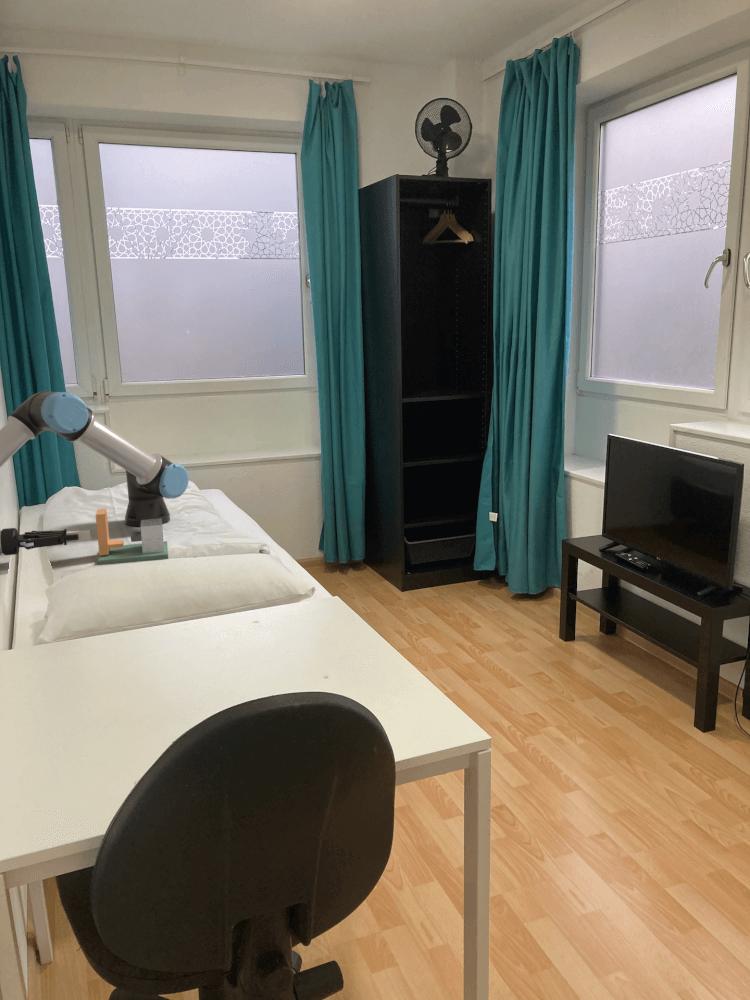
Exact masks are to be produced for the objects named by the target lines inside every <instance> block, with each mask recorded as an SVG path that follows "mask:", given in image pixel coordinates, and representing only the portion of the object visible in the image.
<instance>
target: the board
mask: <svg viewBox="0 0 750 1000" xmlns="http://www.w3.org/2000/svg"><path fill="white" fill-rule="evenodd" d="M165 559H167V560H168V559H169V551H168V541H164V552H160V553H148V554H143V551H142V542H141V543H132V544H130V543H129V544H123V547H116V548H110V551H109V555H101V556H100V555H99V556H98V559H97V560H98V565H99V566H100V565H108V564H109V565H110V564H120V563H122V564H123V563H130V562H131V563H132V562H143V561H152V560H153V561H155V560H165Z"/></svg>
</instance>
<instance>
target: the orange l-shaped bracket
mask: <svg viewBox="0 0 750 1000" xmlns="http://www.w3.org/2000/svg"><path fill="white" fill-rule="evenodd" d="M95 523H96V534H97V541H98V542H97V544H98V552H99V553H98V554H99V556H101V555H109V551H110V548H116V547H123V545H124V544H125V543H124V539H114V540H110V530H109V522H108V510H107V508H97V510H96V512H95Z"/></svg>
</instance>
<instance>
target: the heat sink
mask: <svg viewBox="0 0 750 1000" xmlns="http://www.w3.org/2000/svg"><path fill="white" fill-rule="evenodd" d="M130 541H131V543H132V542H141V543H142V551H143V554H148V553H160V552H164V542H165V541H164V532H163V524H162V518H161V519H148V520H141V526H140V530H139V531H131V532H130Z"/></svg>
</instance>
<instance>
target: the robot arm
mask: <svg viewBox="0 0 750 1000" xmlns="http://www.w3.org/2000/svg"><path fill="white" fill-rule="evenodd" d="M45 431H50V432H52V433H55V434H56V435H58V436H60V437H61V438H63V439H65V440H67V441H68V442H71V443H74V442H77V441H78V442H79V443H81V444H83V445H84V446H86V447H88V448H89V449H91V450H92V451H94V452H96V453H97V454H99V455H100V456H102V457H104V458H105V459H106V460H107V459H108V461H110V462H112V463H113V464H115V465H117V466H118V467H120V468H121V469H123V470H125V474H126V486H127V497H128V503H127V508H126V511H125V515H124V522H125V523H126V524H127V526H130V525H131V527H141V520H148V519H161V518H162V525H163V524H166V523H169V522H170V521H171V516H170V512H169V509H168V507H167V505H166V502H165V499H176V498H179V497H181V496H182V495H183V494H184V493H185V492H186V490H187V489H188V486H189V482H190V481H189V473H188V470H187V469H186V468H185V467H184V466H183V465H182V464H180V463H177V462H172V461H170V460H168V459H167V458H165V457H164V456H162V455H160V454H159V453H152V454H151V453H149V452H148V451H146V450H144V449H143V448H141V447H140V446H139V445H138V444H135V443H134V442H132V441H131V440H129V439H128V438H127V437H125V436H123V435H121V433H119V432H117V431H116V430H114V429H113V428H110V427H109V426H108V425H107V424H105V423H103V422H101V421H100V420H98V419H97V418H95V416H94V410H92V409H91V408H89V407H88V406H87V405H86V403H85V402H84V400H83V399H82V398H80V397H79V396H77V395H75V394H74V393H70V392H67V391H66V392H64V391H39V392H37V393H34V394H32V395H31V396H29V397H28V398H27V399H26V400H24V402H22V403H21V404H20V405H19V406H18V407H17V408H15V410H14V411H13V412H12V413H11V414H10V415H9V416H8V417H7V422H6V424H5V425H4V426H3V427H2V428H1V429H0V468H2V467H3V465H5V463H7V461H8V460H9V459H11V457H12V456H14V455H15V454H16V452H18V451H19V450H20V449H21V448H22V447H23V446H24V444H26V443H27V442H28V441H29V440H35V439H36V438H37V437H38V436H39V435H41V433H43V432H45ZM164 498H165V499H164ZM125 523H124V524H125ZM126 524H125V525H126ZM83 541H85V542H86V541H92V531H91V529H86V530H75V531H73V530H72V531H67V528H65V529H62V530H32V531H26V532H24V533H23V534H19V531H18V528H16V527H9V528H2V529H0V557H1V556H2V555H4V556H13V555H14V556H15V555H18V554H19V552H20V548H24V549H26V550H32V549H37V548H43V547H44V548H45V547H52V546H60V545H61V546H62V545H63V546H66V545H68V543H73V542H74V543H75V542H83Z"/></svg>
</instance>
